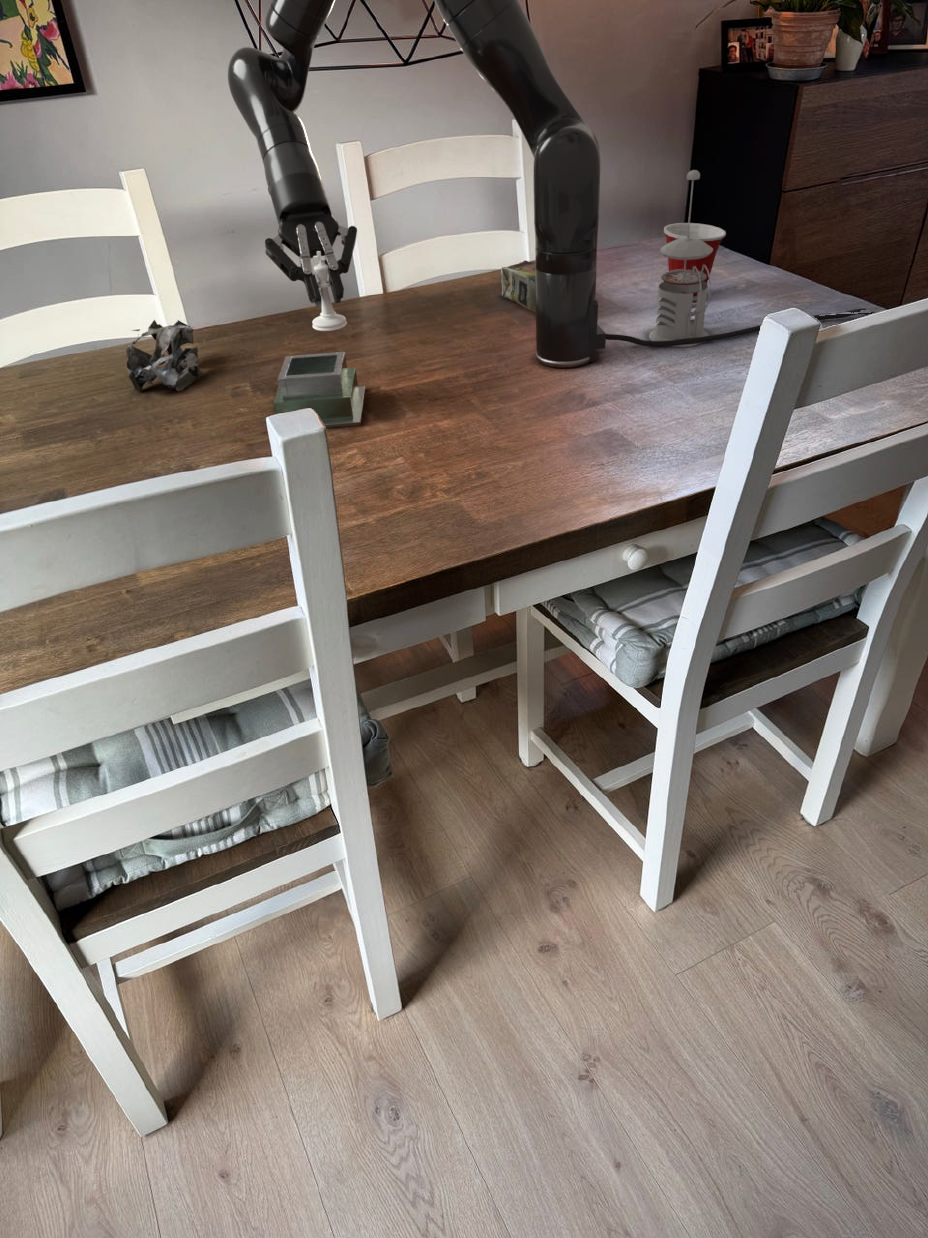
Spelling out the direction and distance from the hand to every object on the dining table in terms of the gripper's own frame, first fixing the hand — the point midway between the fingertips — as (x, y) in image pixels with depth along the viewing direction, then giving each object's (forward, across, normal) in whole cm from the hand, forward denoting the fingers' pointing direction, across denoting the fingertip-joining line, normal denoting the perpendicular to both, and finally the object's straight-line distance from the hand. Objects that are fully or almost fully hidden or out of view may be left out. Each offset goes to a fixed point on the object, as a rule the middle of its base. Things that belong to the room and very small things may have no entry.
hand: (328, 301), depth 118 cm
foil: (-7, -24, +30) cm, 39 cm away
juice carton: (-9, +46, +31) cm, 56 cm away
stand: (+10, -4, +12) cm, 16 cm away
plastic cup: (-2, +70, +24) cm, 74 cm away
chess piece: (+1, 0, +4) cm, 5 cm away
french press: (+10, +58, +12) cm, 60 cm away
